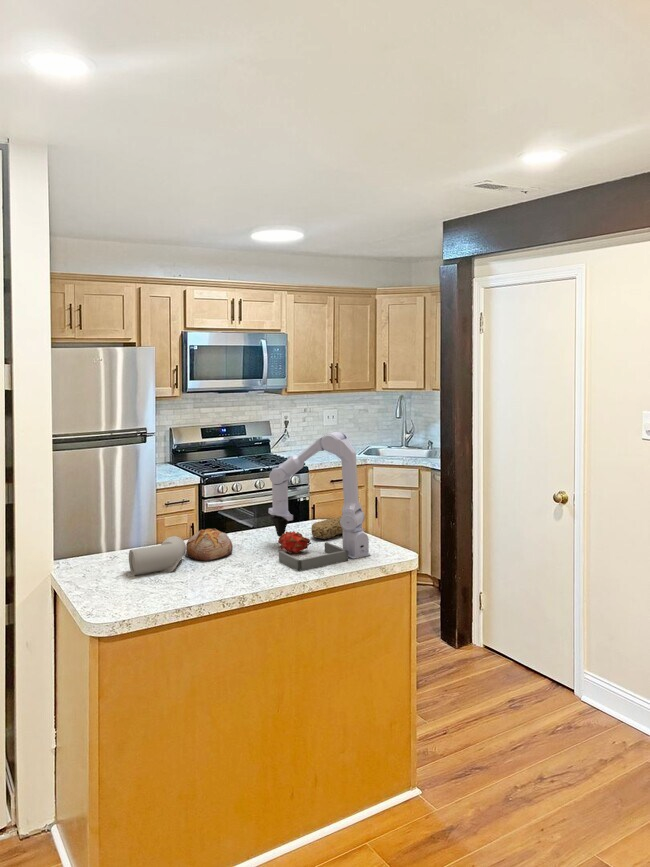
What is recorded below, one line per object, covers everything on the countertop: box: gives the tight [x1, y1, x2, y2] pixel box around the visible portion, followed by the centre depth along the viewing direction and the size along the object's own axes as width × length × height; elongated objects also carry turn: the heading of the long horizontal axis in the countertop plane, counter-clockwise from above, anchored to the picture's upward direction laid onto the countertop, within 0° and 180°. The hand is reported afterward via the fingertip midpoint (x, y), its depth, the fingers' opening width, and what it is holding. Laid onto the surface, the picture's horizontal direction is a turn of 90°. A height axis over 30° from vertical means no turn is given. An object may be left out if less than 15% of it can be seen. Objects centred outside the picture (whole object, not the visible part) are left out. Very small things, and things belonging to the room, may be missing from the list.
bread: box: [185, 528, 233, 562], centre depth 251 cm, size 16×20×10 cm
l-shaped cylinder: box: [128, 535, 186, 576], centre depth 235 cm, size 18×11×20 cm
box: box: [278, 541, 349, 572], centre depth 242 cm, size 13×20×4 cm, turn 124°
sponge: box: [310, 515, 343, 539], centre depth 274 cm, size 13×8×20 cm
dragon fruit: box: [277, 530, 312, 555], centre depth 251 cm, size 8×8×12 cm
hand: (280, 535), depth 260 cm, fingers closed
